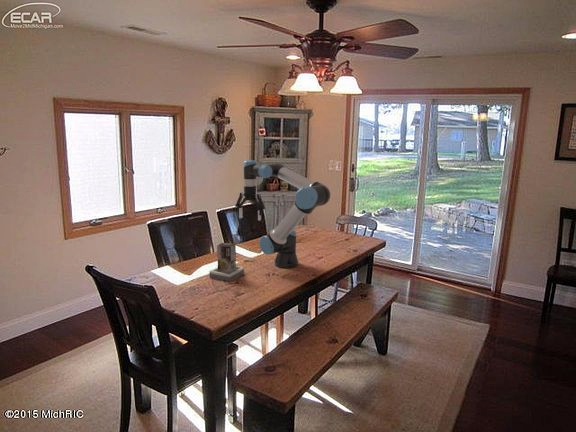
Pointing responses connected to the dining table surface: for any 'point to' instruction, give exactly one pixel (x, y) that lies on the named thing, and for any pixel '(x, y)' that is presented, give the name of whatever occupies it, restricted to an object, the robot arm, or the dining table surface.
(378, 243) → the dining table surface
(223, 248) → the coffee box
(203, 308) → the dining table surface
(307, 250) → the dining table surface
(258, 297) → the dining table surface
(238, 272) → the grey square tray
